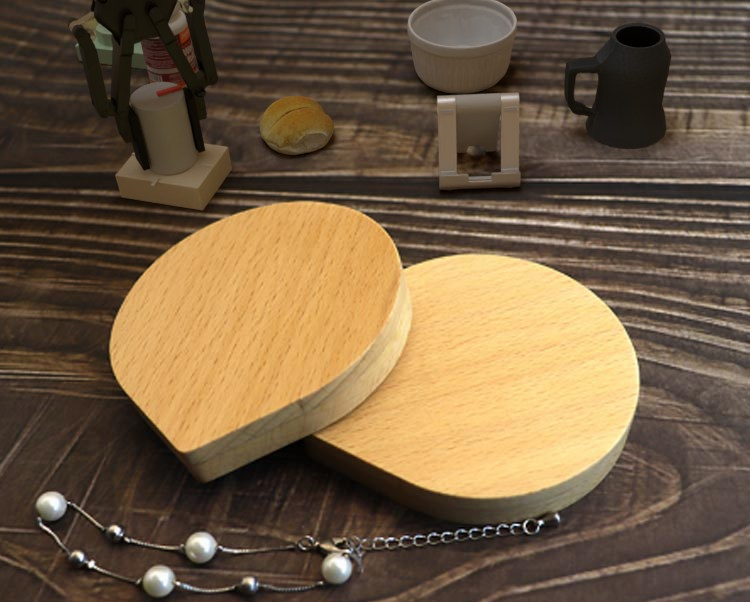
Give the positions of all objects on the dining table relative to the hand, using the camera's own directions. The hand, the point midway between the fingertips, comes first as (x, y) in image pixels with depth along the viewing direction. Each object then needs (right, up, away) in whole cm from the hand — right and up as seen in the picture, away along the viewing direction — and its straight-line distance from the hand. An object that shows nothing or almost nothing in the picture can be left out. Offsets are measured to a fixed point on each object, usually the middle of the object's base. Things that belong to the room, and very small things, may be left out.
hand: (170, 154), depth 111 cm
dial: (0, -1, +1) cm, 1 cm away
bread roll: (+13, +4, +8) cm, 16 cm away
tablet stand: (+34, -2, +1) cm, 34 cm away
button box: (-11, +19, +25) cm, 33 cm away
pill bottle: (-3, +13, +18) cm, 23 cm away
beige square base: (0, -3, +3) cm, 4 cm away
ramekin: (+33, +14, +16) cm, 39 cm away
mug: (+50, +4, +6) cm, 50 cm away
